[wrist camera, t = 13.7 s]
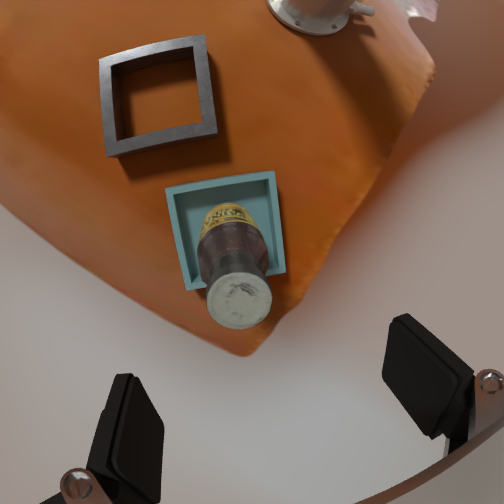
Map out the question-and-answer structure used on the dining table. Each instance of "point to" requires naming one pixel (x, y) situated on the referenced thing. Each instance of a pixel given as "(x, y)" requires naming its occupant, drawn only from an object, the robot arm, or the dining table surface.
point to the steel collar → (150, 57)
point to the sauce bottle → (234, 267)
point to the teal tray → (215, 193)
